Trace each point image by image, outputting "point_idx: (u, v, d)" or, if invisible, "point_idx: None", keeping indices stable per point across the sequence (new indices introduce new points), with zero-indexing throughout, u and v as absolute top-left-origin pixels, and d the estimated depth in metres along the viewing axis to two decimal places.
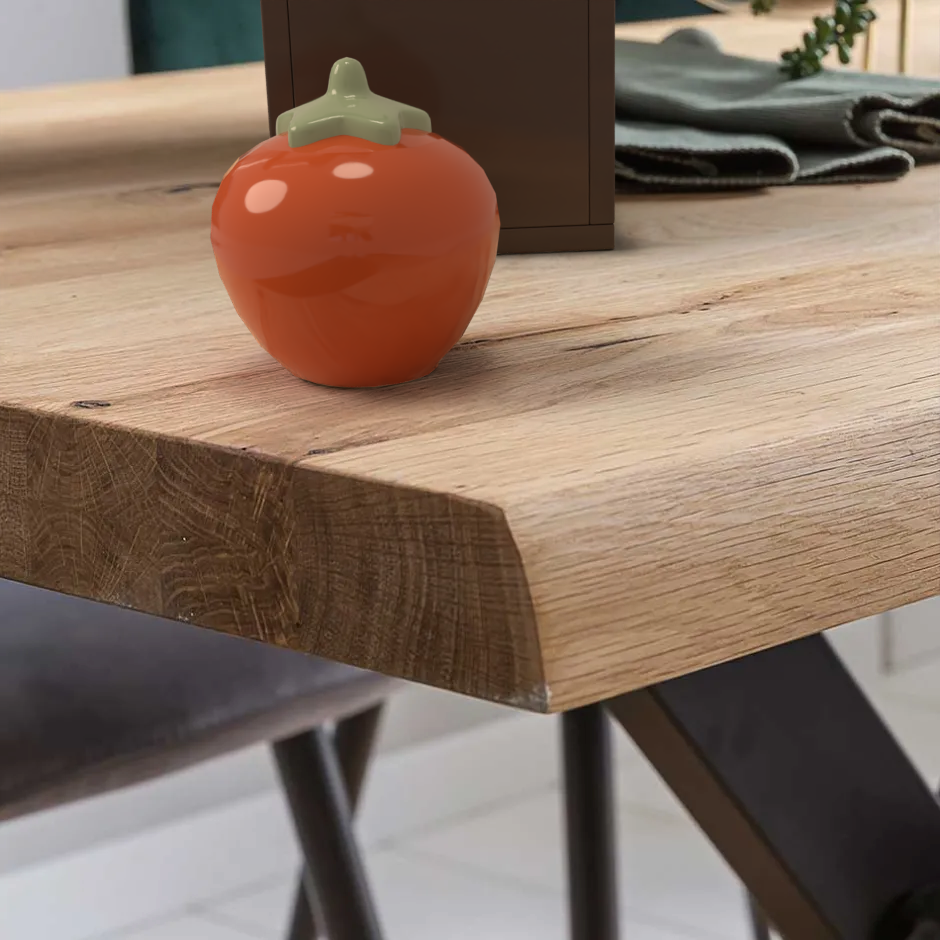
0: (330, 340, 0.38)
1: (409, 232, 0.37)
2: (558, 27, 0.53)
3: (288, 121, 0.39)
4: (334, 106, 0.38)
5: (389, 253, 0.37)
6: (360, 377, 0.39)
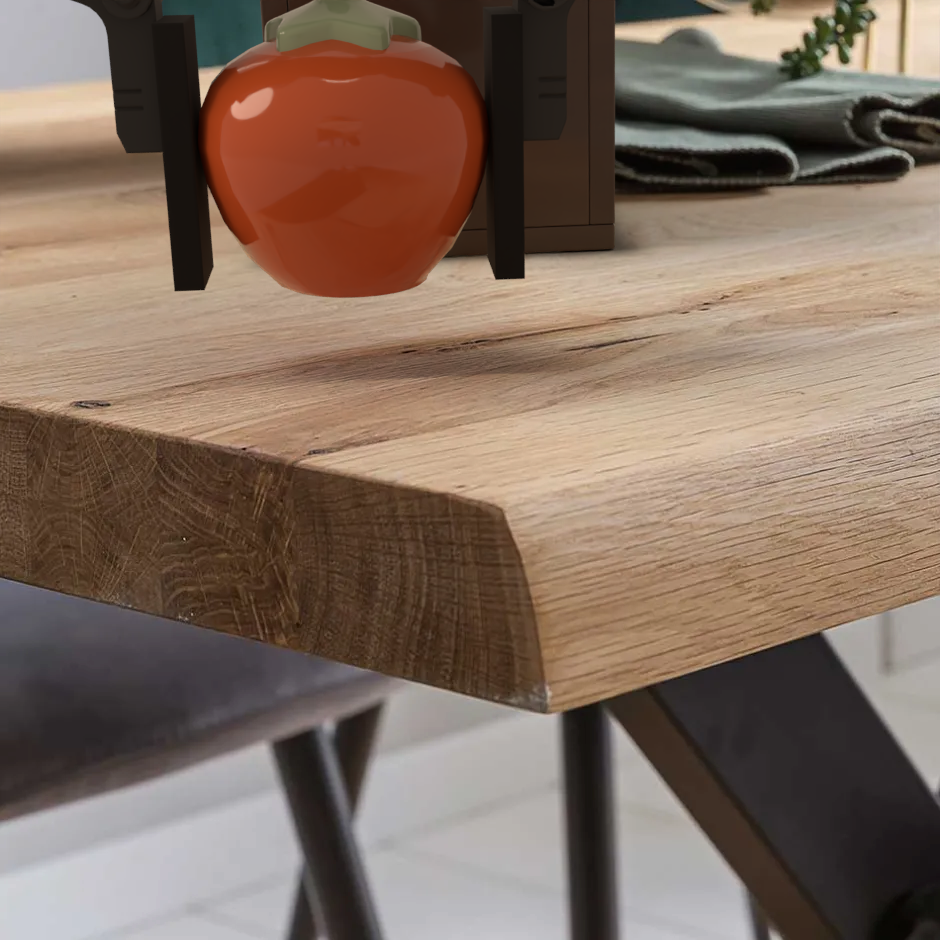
0: (317, 247, 0.38)
1: (397, 137, 0.37)
2: None
3: (277, 27, 0.39)
4: (322, 10, 0.38)
5: (377, 158, 0.37)
6: (347, 287, 0.39)
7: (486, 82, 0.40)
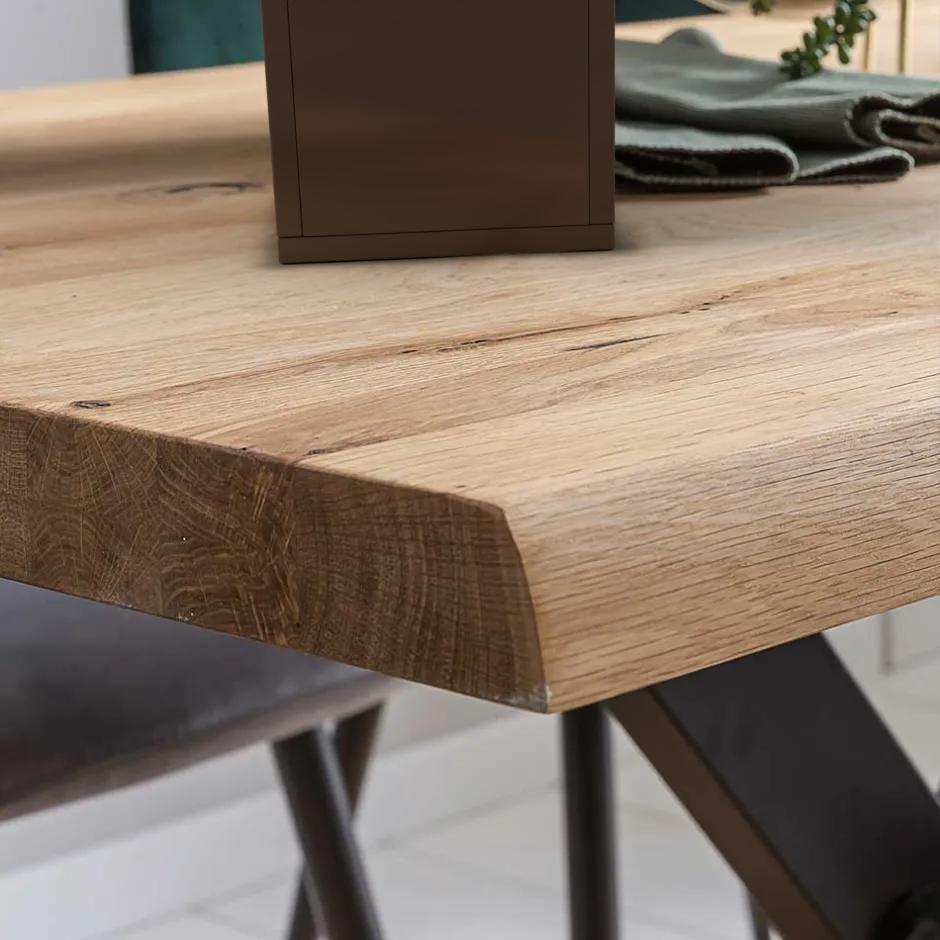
0: None
1: None
2: (558, 27, 0.53)
3: None
4: None
5: None
6: None
7: None
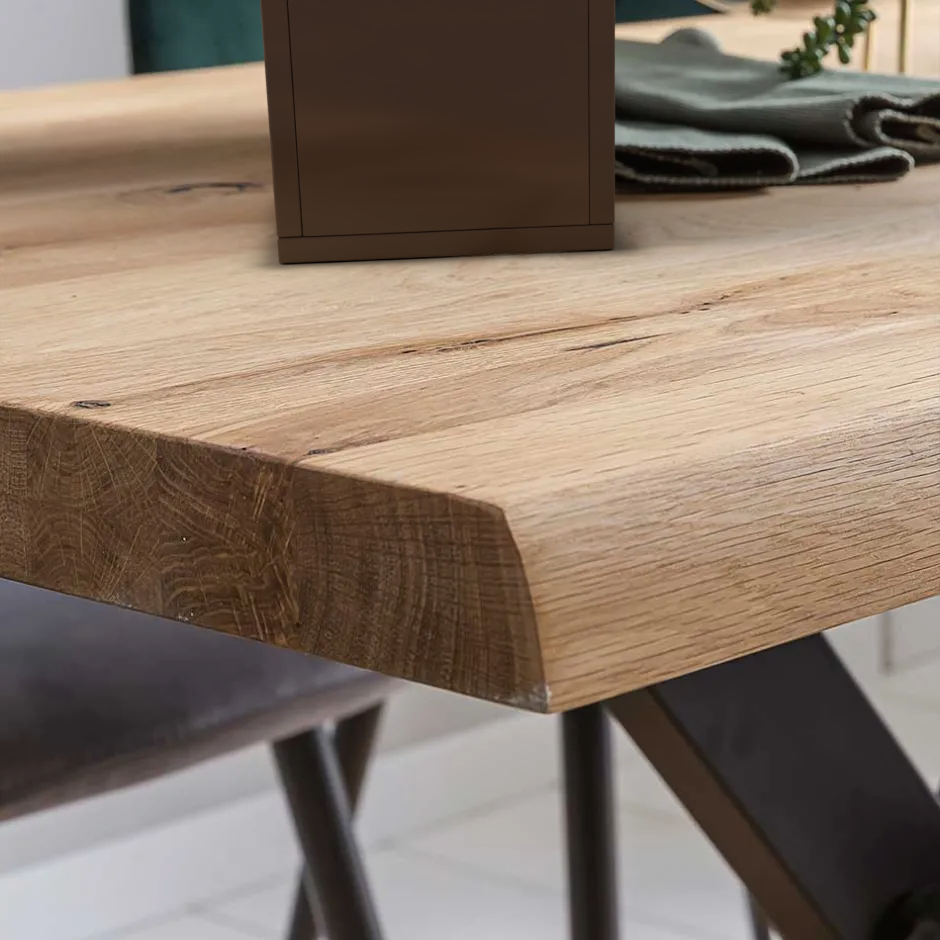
0: None
1: None
2: (558, 27, 0.53)
3: None
4: None
5: None
6: None
7: None
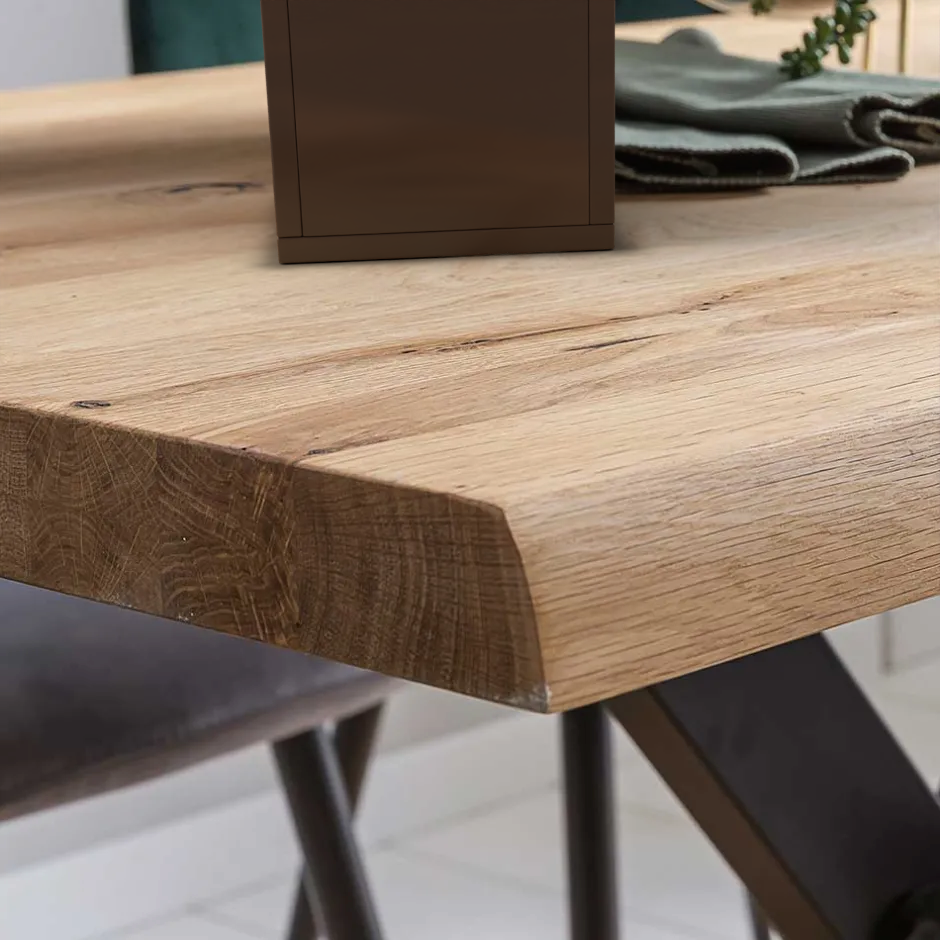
0: None
1: None
2: (558, 27, 0.53)
3: None
4: None
5: None
6: None
7: None
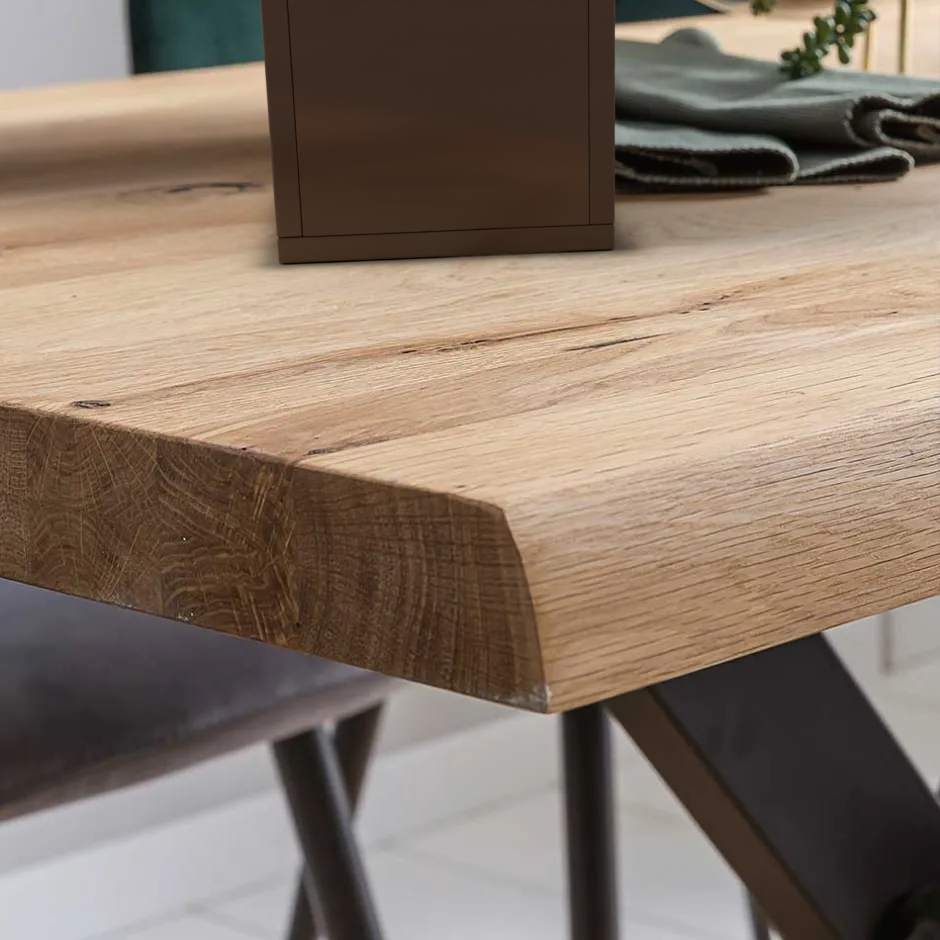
0: None
1: None
2: (558, 27, 0.53)
3: None
4: None
5: None
6: None
7: None
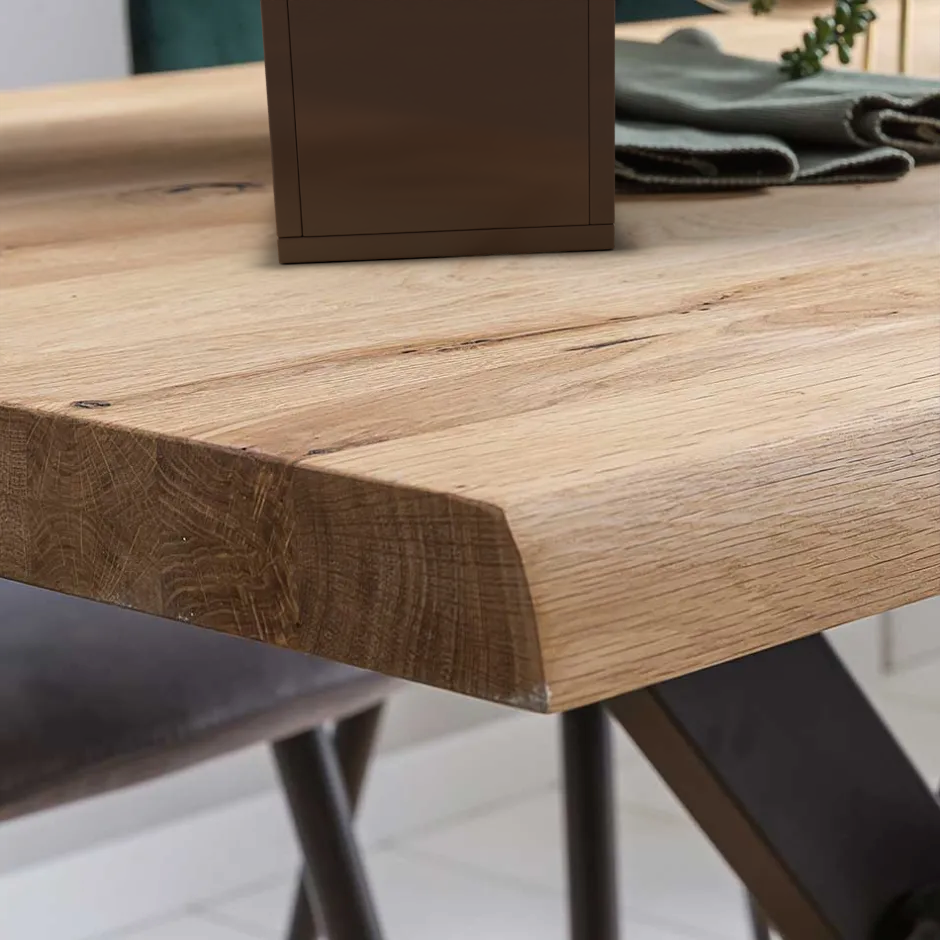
0: None
1: None
2: (558, 27, 0.53)
3: None
4: None
5: None
6: None
7: None
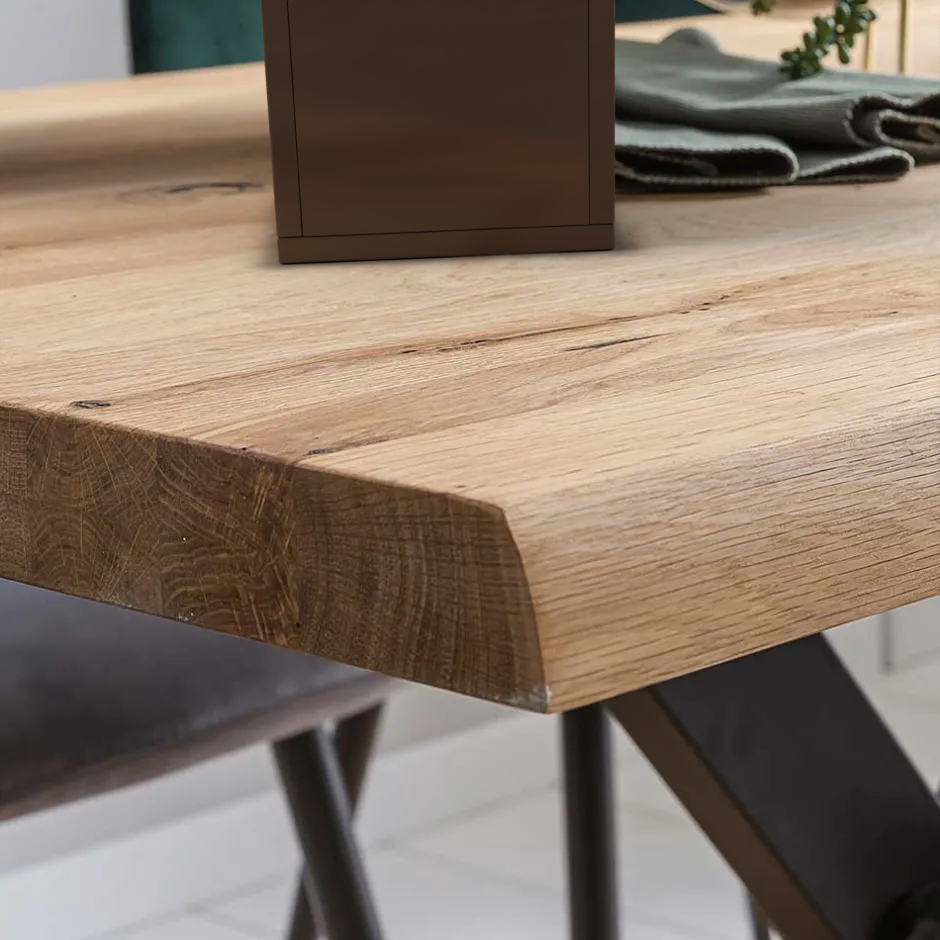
0: None
1: None
2: (558, 27, 0.53)
3: None
4: None
5: None
6: None
7: None
